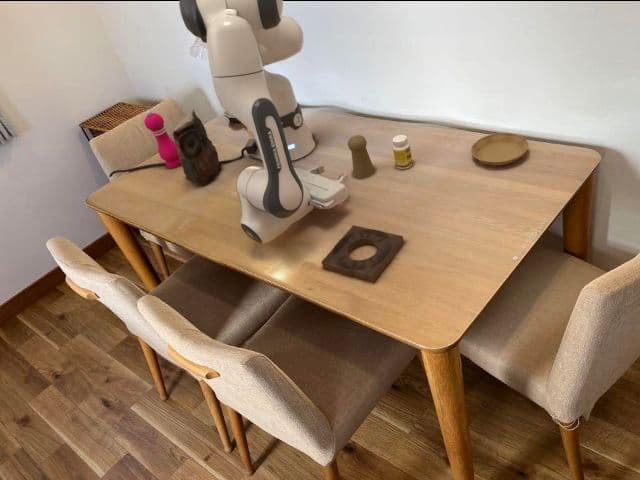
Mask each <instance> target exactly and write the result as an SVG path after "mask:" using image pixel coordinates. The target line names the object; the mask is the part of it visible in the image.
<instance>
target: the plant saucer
mask: <svg viewBox="0 0 640 480" xmlns="http://www.w3.org/2000/svg"><path fill="white" fill-rule="evenodd" d="M529 146H530V144H529V142H528V140H527V138H525V137H524V136H522V135H520V134H517V133H513V132H498V133H492V134H488V135H485V136H483V137H481V138H479V139H478V140H476V141H475V142H473V144H472V146H471V149H470V153H471V154H472V156H473V157H474V158H475V159H476V160H478V161H479V162H481V163H483V164H485V165H488V166H495V167H497V166H505V165H509V164H512V163H514V162H516V161H518V159H520V158H521V157H523V156H524V155H525V153H526V152H527V151H528V150H529Z"/></svg>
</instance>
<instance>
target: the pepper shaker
mask: <svg viewBox="0 0 640 480" xmlns="http://www.w3.org/2000/svg"><path fill="white" fill-rule="evenodd" d="M367 144H368V143H367V138H366V137H365V136H363V135H360V134H357V135H353V136H350V138H349V139H348V141H347V147H348V149H349V151H350V152H351V160H352V170H353V175H354V177H355V178H358V179H364V178H365V179H366V178H368V177H370V176H372V175H373V174H374V173H375V167H374V164H373V162H372V160H371V157H370V155H369V152H368V150H367Z"/></svg>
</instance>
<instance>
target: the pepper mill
mask: <svg viewBox="0 0 640 480" xmlns="http://www.w3.org/2000/svg"><path fill="white" fill-rule="evenodd" d="M145 114H146V116H145V118H144V121H143V122H144V125H145V127H146V129H147V130H149V131H150V133H151V135H152V136H153V137H154V139H155V140H156V142H157V148H158V149H157V150H158V154H159V157H160V159H161V160H163V161H164V163H166V165H165V166H166V167H167V168H168V169H175V168H178V167H180V166H181V165H179V163H181V161H180V158H179V155H178V150H177V146H176V143H175V141H174V139H172V137H170V135H169V134H168V132H167V129H168V128H166V126H165V120H164V118H163V116H162V115H161V114H160V113H155V112H154V113H153V111H152V110H151V109H147V110H146V113H145Z"/></svg>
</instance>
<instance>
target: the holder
mask: <svg viewBox="0 0 640 480" xmlns="http://www.w3.org/2000/svg"><path fill="white" fill-rule="evenodd" d="M404 243H405V241H404V236H403V235H400V234H395V233H390V232H386V231H383V230H378V229H374V228H368V227H363V226H359V225H355V224H354V225H352V226H351V227H350V228H349V229H348V230H347V232H346V233H345V234H344V235H343V236H342V237H341V238H340V239H339V240H338V242H337V243H336V244H335V245H334V246H333V248H332V249H331V250H330V251H329V252H328V254H327V255H326V256H325V257H324V258H323V260H322V261H321V265H322V268H323V269H325V270H328V271H331V272H335V273H339V274H342V275H345V276H348V277H351V278H356V279H361V280H362V281H363V280H364V281H367V282H371V283H375V282H376V281H377V279H379V277H380V276H381V274H382V273H383V272H384V270H385V268H387V267H388V265H389V264H390V262H391V261H392V260H393V259H394V257H395V255H396V254H397V253H398V251H399V250H400V249H401V247H402V246H403V245H404ZM367 245H370V246H374V247H376V248H377V251H375V252H374V254H373V255H371V256H369V257H368V258H365V259H353V258H351V257H350V253H351V252H352V251H353V250H355V249H356V248H359V247H361V246H367Z"/></svg>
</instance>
